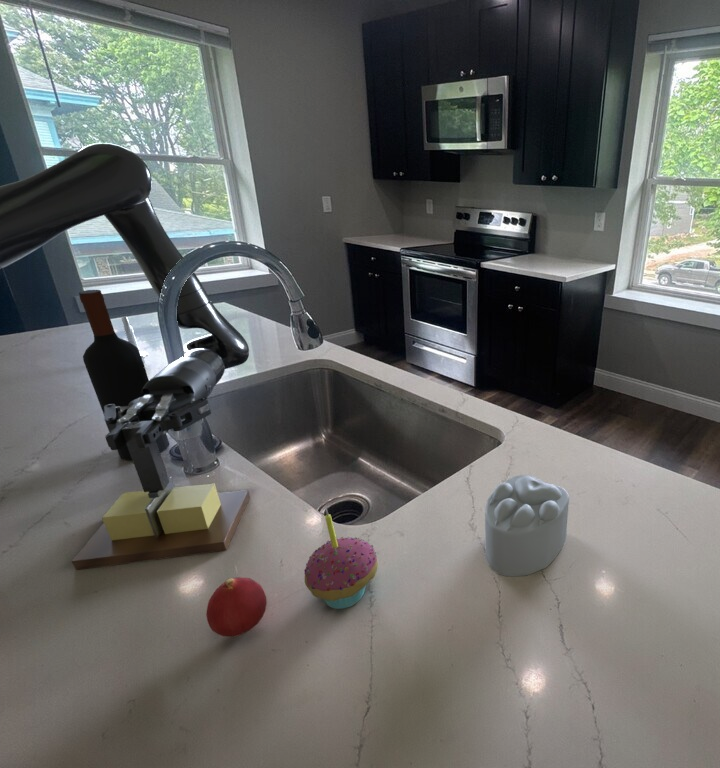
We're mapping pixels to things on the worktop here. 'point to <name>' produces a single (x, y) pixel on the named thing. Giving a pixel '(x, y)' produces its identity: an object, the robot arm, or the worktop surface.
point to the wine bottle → (113, 363)
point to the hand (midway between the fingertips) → (126, 442)
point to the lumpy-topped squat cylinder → (525, 525)
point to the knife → (149, 473)
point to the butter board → (166, 539)
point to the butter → (163, 512)
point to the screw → (132, 336)
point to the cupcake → (340, 569)
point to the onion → (236, 607)
